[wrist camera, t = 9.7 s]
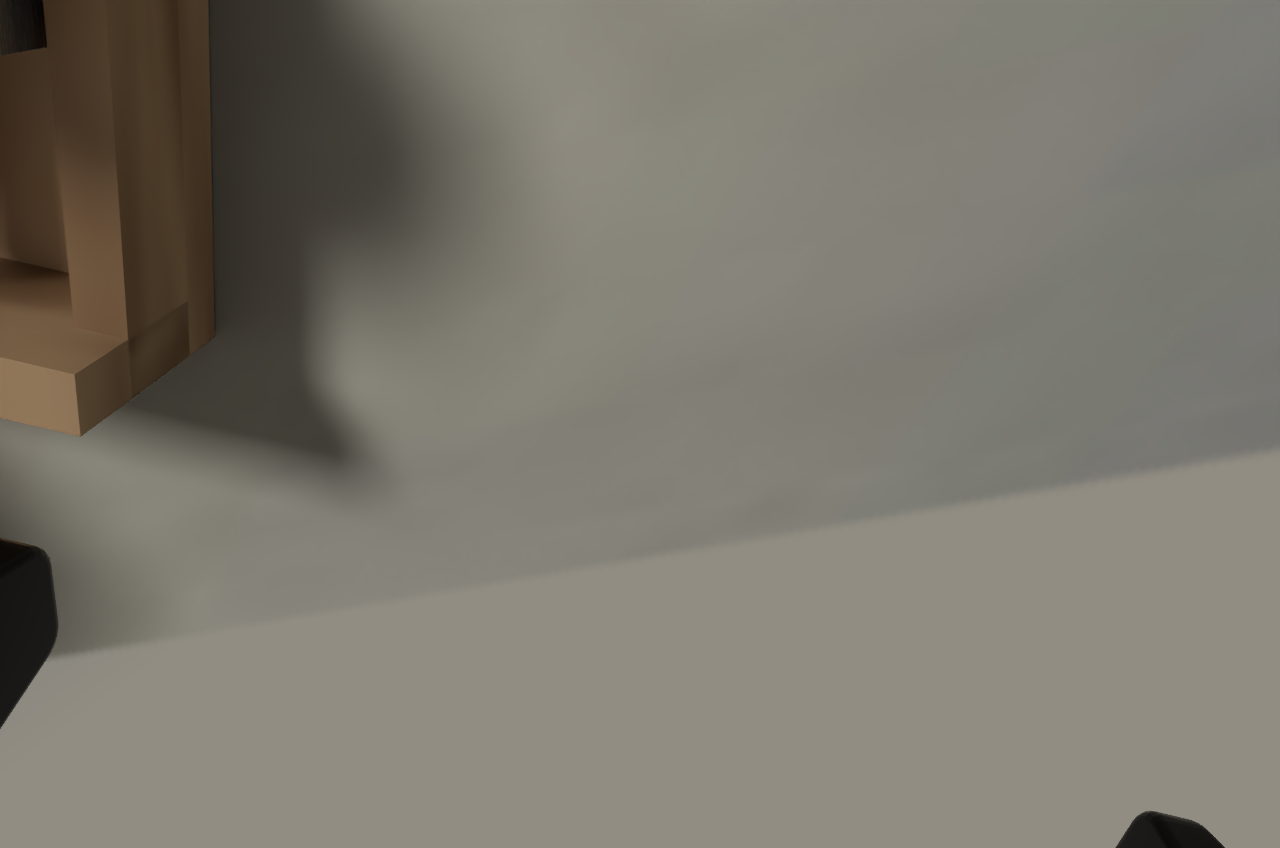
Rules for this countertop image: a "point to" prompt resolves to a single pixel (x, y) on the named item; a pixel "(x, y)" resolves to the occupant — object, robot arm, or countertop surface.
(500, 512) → the countertop surface
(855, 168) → the countertop surface
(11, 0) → the pusher
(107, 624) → the countertop surface
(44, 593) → the robot arm
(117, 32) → the wooden tray
